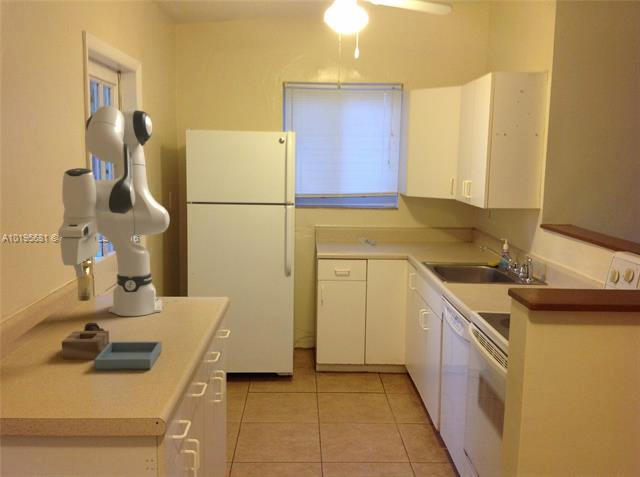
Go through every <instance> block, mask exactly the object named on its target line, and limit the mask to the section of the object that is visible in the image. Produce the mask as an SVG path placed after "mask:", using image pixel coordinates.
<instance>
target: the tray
mask: <svg viewBox="0 0 640 477" xmlns="http://www.w3.org/2000/svg"><path fill="white" fill-rule="evenodd" d="M162 344H163V343H162V341H109V344H108V345H107V346H106V347H105V349H104V350H103V351H102V352H101V353H100V354H99V355H98V356H97V357H96V358H95V359H94V371H151V370H152V368H153V366H154V365H155V363H156V362H157V360H158V359H159V357H160V355H161V353H162V351H163V350H162Z"/></svg>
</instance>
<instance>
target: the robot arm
mask: <svg viewBox="0 0 640 477" xmlns="http://www.w3.org/2000/svg"><path fill="white" fill-rule="evenodd" d="M150 117H151V116H150V115H149V114H148V113H147V112H146V111H144V110H134V111H133V110H119V109H118V108H116V107H114V106H111V105H104V106H100V107H99V108H97V109H96V110H95V112H94V113H93V114H92V115H90V116H89V118H88V119H87V120H86V122H85V132H86V133H85V138H84V142H85V147H86V149H87V151H88V152H89V153H90V154H91V155H92V156H93V157H95V158H96V159H97V160H100V161H102V162H105V163H106V162H107V163H110V164H113V179H95V174H94V171H93V170H92V169H90V168H84V167H83V168H79V167H77V168H70V169H68V170H66V171H64V173H63V178H62V187H61V188H62V189H61V190H62V192H61V195H62V196H61V197H62V204H63V206H64V212H63V216H62V217H63V222H62V223H61V226H60V228H59V229H58V232H57V233H58V237H59V238H60V250H61V252H60V253H61V260H62V262H63V265H64V266H73V267H74V270H75V276H76V277H83V276H84V270H83V266H82V265H83V261H85V260H92V257H94V256H96V255H98V254H99V253H100V239H99V235H101V236H102V237H104V238H105V239H106V240H107V241H108V242H109V243H110V244H111V246H112V247H113V249H114V251H115V254H116V255H115V256H116V261H117V271H118V272H117V274H116V283H117V286H116V287H115V288H114V289H113V290H112V291H113V292H112V294H113V296H112V298H113V299H112V307H110V308H109V309H108V312H109V313H113V314H115V315H117V316H123V317H141V316H146V315H150V314H154V313H160V312H162V311H163V300H162V299H161V298H158V297H157V291H156V290H157V289H156V287H155V285H154V284H153V283H152V282H153V275H152V274H153V273H152V270H151V262H150V261H151V260H150V258H151V257H150V252H149V251H148V249H146V248H145V247H144V246H142V245H139V244H137V243H134V242H133V241H132V237H135V236H137V237H138V236H139V237H140V236H153V235H158V234H162V233H165V231H167V230H168V229H169V226H170V222H171V221H170V219H171V218H170V214H169V212H168V210H167V209H166V208H165V207H164V206H162V205H161V204H160V203H158V202H157V200H155V198H154V196H153V195H152V194H151V192H150V189H149V185H148V180H147V169H146V168H147V167H146V158H145V157H146V156H145V151H144V146H145V145H146V143H147V142H148V141H149V140H150V138H151V137H152V135H153V122H152V120H151V119H152V118H150ZM90 267H91V266H89V273H91V268H90Z"/></svg>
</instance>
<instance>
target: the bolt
mask: <svg viewBox="0 0 640 477" xmlns="http://www.w3.org/2000/svg"><path fill="white" fill-rule="evenodd" d="M83 331H106V330H105V329H104V328H102V327H101V328H100V325H98V324H97V322H87V323H85V325H84V329H83Z"/></svg>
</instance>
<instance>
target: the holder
mask: <svg viewBox="0 0 640 477" xmlns="http://www.w3.org/2000/svg"><path fill="white" fill-rule="evenodd" d="M109 343H110V330H105V331H84V330H74V331H72V332H71V333H70V334H69V335H68V336H67V337H65V338H64V339H63V340H62V341H61V358H62V360H93V359H94V360H95V358H96V357H97V356H98V355H99V354H100V353H101V352H102V351H103V350H104V349H105V347H106V346H107V345H108V344H109Z"/></svg>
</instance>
